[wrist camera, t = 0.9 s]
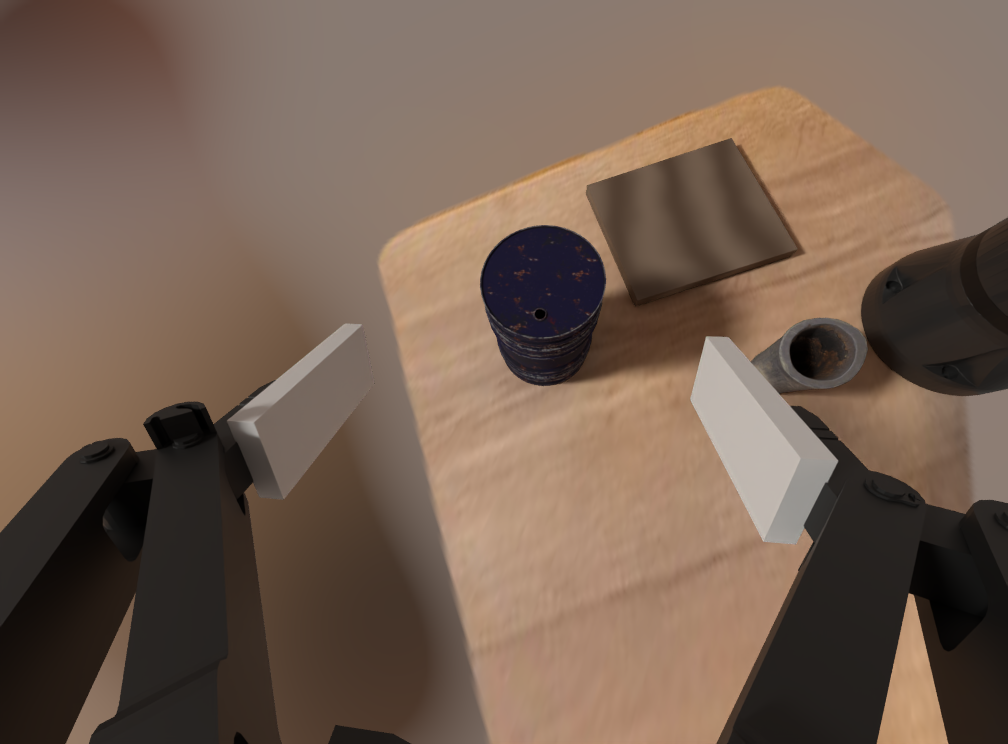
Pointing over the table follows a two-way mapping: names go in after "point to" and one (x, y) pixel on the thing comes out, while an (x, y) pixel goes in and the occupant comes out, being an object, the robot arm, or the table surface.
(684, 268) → the walnut serving board
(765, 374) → the pipe
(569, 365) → the navy cylinder
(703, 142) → the table surface
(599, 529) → the table surface
